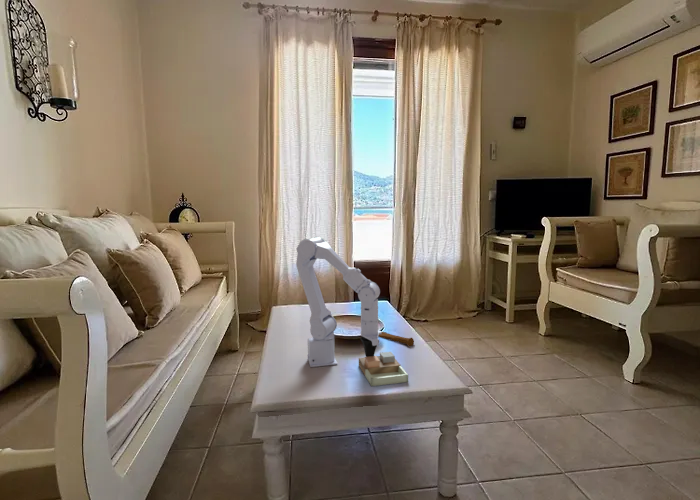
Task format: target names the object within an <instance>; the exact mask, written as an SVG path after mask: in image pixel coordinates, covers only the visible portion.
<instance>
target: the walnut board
mask: <svg viewBox="0 0 700 500" xmlns="http://www.w3.org/2000/svg"><path fill="white" fill-rule="evenodd" d="M376 356H377V358H378V359H379V360H380V366H379V367H370V368H368V367H367V366H366V364H365V357H366V356H363V357H358V367H359V368H360V370H361V371H362V373H363V375H364V376H365V369H368V371H369V372H370V374H371V375H373V374H382V373H391V372H399V366H401V367H402V365H401V364H400V362H399V361H398V359H396V358H395V362H388V363H383V362H382V360H381V359H380V355H376Z"/></svg>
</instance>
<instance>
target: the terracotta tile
mask: <svg viewBox="0 0 700 500" xmlns="http://www.w3.org/2000/svg"><path fill="white" fill-rule="evenodd" d="M377 356H378V355H374V356H370V357H366V356H364V357H365V364H366V366H367V367H368V368H370V367H379V366H380V360H379V359H378V358H377Z"/></svg>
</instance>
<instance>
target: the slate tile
mask: <svg viewBox="0 0 700 500" xmlns="http://www.w3.org/2000/svg"><path fill="white" fill-rule="evenodd" d="M379 356H380V359H381V360H382V362H383V363H388V362H395V359H396V356H395V355H394V354H393V352H392V351H384V352H379Z"/></svg>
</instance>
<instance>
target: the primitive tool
mask: <svg viewBox="0 0 700 500" xmlns="http://www.w3.org/2000/svg"><path fill="white" fill-rule="evenodd" d="M381 332H382V334H379V336H378V338H382V339H386V340H390V341H392V342H396V343H400V344H404V345H407V346H408V347H412V346H414V344H415V340H414V338H413V337H409V338H408V337H405V336H404V337H403V336H399V335H396V334H392V333H388V332H385V331H381Z"/></svg>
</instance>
